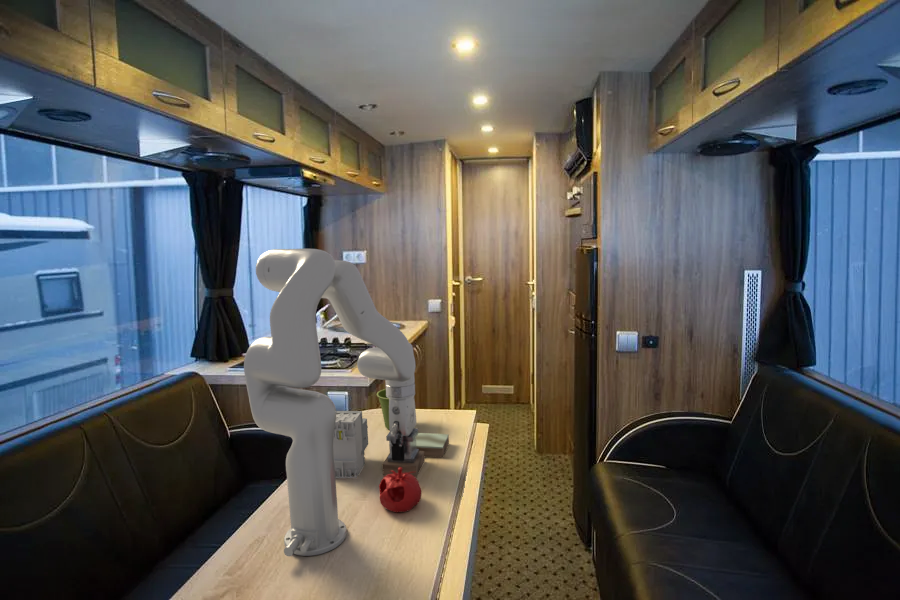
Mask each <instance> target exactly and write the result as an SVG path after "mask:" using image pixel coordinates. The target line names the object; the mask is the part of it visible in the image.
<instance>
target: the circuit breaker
mask: <svg viewBox="0 0 900 600" xmlns="http://www.w3.org/2000/svg"><path fill="white" fill-rule="evenodd" d="M368 429H369V426H368V418H363V411H361V410H336V421H335V428H334V440H333V450H334V465H335V479H358V476H359V475H360V474H361V472H362V470H363V469H364V467H365V465H366V458H365V456H366V454H365V451H366V449H367V447H368V445H369V432H368V431H369V430H368Z"/></svg>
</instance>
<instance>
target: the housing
mask: <svg viewBox="0 0 900 600" xmlns="http://www.w3.org/2000/svg"><path fill="white" fill-rule="evenodd" d="M418 433H419V428H418V427H417V428H416V427H414V429H413V430H412V432H411V433H410V435H409V436H408V437H406V436H404V438H403V445H404V456H405V459H404V461H393V460H392V450H391V437H390V431H388V434H387V435H386V437H385V438H386V441H387V442H388V445H389V454H388V455H389V456H388V455H387V456H388V457H387V456H386V458H387V459H388V462H399V463H414V462H415V460H416V458H417V457H418V455H419V449H417V447H416V436H417V435H418ZM397 434H402V433H401V432H397ZM397 439H399V441H400V437H397Z"/></svg>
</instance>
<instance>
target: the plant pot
mask: <svg viewBox="0 0 900 600" xmlns="http://www.w3.org/2000/svg"><path fill="white" fill-rule="evenodd" d="M376 397H377V398H378V400H379V403H380V408H381V413H382V417H383V422H384V423H383V424H384V427H385V428H386V429H387V430H389V431H390V429H389V398H387V397H386V388H383V389H381V390H379V391H377V393H376Z"/></svg>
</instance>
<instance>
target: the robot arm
mask: <svg viewBox="0 0 900 600" xmlns="http://www.w3.org/2000/svg"><path fill="white" fill-rule="evenodd" d="M255 264H256V265H255V274H256V278H257V280H258V282H259V283H260V284H261V285H262V286H263V287H264V288H266V289H267V290H269V291H273V292H276V293H277V292H278V295H277V297H276V298H275V299H274V301H273V304H272V307H271V309H270V313H269V326H270V336H264V337H263V336H262V337H260V338H257V339H256V340H255V341H253V342H252V343H251V344H250V346H249V347H248V348H247V351H246V353H245V356H244V362H243V371H244V373H243V374H244V379H245V385H246V389H247V390H246V391H247V397H248V401H249V406H250V411H251V414H252V418H253V421H254V423H255V424H256V426H258V428H259V429H261V430H262V431H265V432H268V433H272V434H276V435H282V436H285V437H290V438H291V439H292V443H291V446H290V448H289V450H288V452H287V453H286V455H285V457H286V458H285V472H286V481H287V492H288V493H287V494H288V505H289V506H288V507H289V519H290V528H289V529H288V530H287V531H286V533H285V534H284V538H283V544H284V546H285V547H284V549H283V553H284V555H285V556H286V557H292V556H293V555H298V556H305V557H307V556H308V557H310V556H311V557H312V556H317V555H321V554H322V555H323V554H325V553H328V552H330V551H332V550H334V549H335V548H337V547H339V546H340V545H341V544H342V543H343V542H344V541H345V539H346V537H347V534H348V533H347V525H346V524H345V522H344V521H343V520H341V519H339V513H338V512H339V511H338V509H339V508H338V497H337V496H338V493H337V482H336V478H335V465H334V450H333V440H334V428H335V421H336V411H337V410H336V409H337V408H336V405H335V403H334V401H333V400H332V399H331V398H330V397H329V396H328V395H326V394H324V393H322V392H318V391H314V390H308V389H304V388H309V387H312V386H314V385H315V384H317V382H318V381H319V380H320V378H321V374H322V360H321V352H320V350H321V349H320V345H319V344H320V343H319V337H318V330H317V320H316V313H317V309H318V305H319V303H320V302H321V299H327V300H328V301H329V303H330V304H331V306H332V308H333V310H334V312H335V314H336V316H337V317H338V319H339V322H340V324H341V325H342V328H343V329H344V331H345V332H347V333H349V335H352V336H353V337H356V339H360V340H362V341H364V342H367V343H369V344H371V345H373V346H375V347H369V348H367V349H364V351H362V353H360V355H359V357H358V358H357V363H356V366H357V369H358V372H359V374H361V375H362V376H364V377H365V378H368V379H371V380H372V379H374V380H382V381H383V380H384V381H385V389H386V397H387V398H389V429H390V430H389V429H388V430H389V432H390V437H391V450H392V460H393V461H404V459H405V456H404V445H403V438H404V436H406V437H408V436H409V435H410V433H411V432H412V430H413V429H414V428H416V426H417V414H416V402H415V395H416V383H415V381H416V380H415V372H416V358H415V355H414V354H415V353H414V348H413V345H412V343H410V342H409V340H408V338H407V337H406V335H405V333H403V332H402V331H401V329H399V328H398V327H397V326H396V325H394V323H392V322H391V321H390V320H389V319H388V318H386V317H385V316H383V315H382V314H381V313H380V312H379V311H378V309H377V308H376V306H375V304H374V301H373V299H372V297H371V295H370V292H369V289H368V287H367V285H366V284H365V281H364V279H363V277H362V275H361V272H360V271H359V269H358V267H357V265H355V264H354V263H353V262H350V261H348V260H338V259H335V258H334V256H332V254H330V253H329V252H327V251H326V250H323V249H317V248H276V249H275V248H274V249H269V250H267V251H265V252H263V253H262V254H261V255H260V256H259V257H258V259H257V261H256V263H255ZM397 432H401V433H402V434H397ZM397 437H400V441H399V439H397Z"/></svg>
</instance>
